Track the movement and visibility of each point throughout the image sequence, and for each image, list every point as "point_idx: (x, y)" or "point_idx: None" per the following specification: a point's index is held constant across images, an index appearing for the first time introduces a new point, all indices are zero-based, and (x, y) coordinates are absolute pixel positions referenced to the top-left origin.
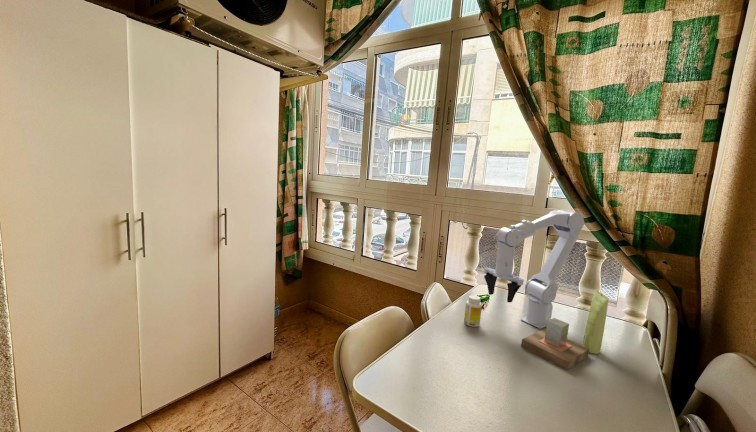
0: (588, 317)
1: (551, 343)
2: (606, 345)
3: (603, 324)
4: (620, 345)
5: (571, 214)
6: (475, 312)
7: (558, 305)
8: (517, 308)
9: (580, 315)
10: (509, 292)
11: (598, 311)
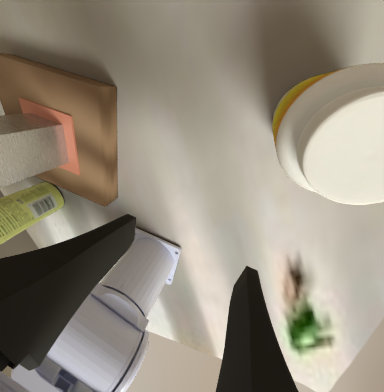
0: None
1: (42, 119)
2: (56, 227)
3: None
4: (51, 237)
5: None
6: (305, 84)
7: (158, 330)
8: (208, 301)
9: None
10: (66, 249)
11: None
